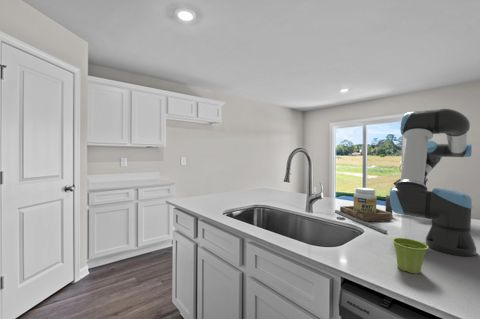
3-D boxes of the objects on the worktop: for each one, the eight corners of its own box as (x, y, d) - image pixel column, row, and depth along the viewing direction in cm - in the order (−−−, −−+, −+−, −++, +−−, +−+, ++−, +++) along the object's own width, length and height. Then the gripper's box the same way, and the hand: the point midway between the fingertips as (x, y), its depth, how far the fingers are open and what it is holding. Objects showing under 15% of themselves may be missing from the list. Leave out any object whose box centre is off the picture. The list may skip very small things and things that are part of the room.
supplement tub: (355, 218, 136) (355, 189, 135) (351, 213, 147) (352, 186, 147) (378, 220, 132) (379, 190, 132) (373, 215, 144) (374, 187, 143)
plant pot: (411, 262, 81) (412, 237, 80) (435, 276, 71) (436, 248, 71) (385, 262, 80) (386, 237, 80) (405, 276, 71) (406, 248, 71)
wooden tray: (405, 219, 134) (405, 198, 133) (361, 221, 128) (362, 200, 128) (379, 211, 153) (379, 193, 152) (340, 212, 147) (340, 193, 147)
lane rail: (387, 233, 110) (387, 230, 110) (384, 233, 110) (384, 230, 110) (336, 212, 149) (336, 209, 149) (334, 212, 149) (334, 210, 149)
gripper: (445, 177, 135) (422, 203, 133) (407, 173, 160) (387, 195, 157) (438, 168, 134) (415, 194, 132) (400, 166, 158) (381, 188, 156)
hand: (400, 195), depth 144 cm, fingers open, 13 cm apart
